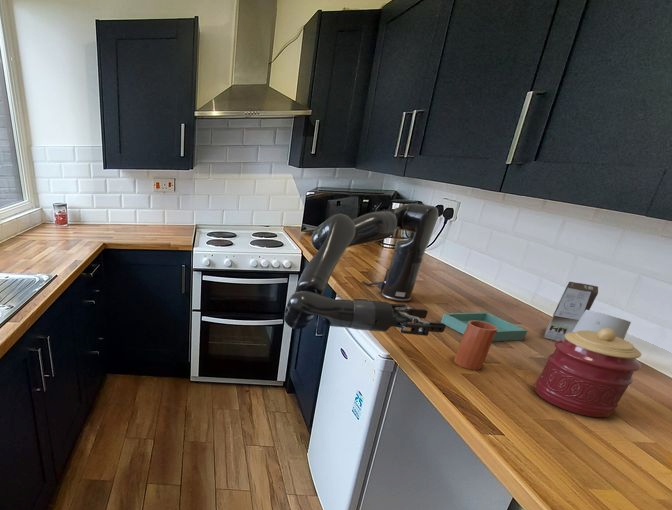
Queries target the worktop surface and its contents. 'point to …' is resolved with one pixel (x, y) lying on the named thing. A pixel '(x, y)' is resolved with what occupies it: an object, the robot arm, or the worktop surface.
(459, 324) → the tray
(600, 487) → the worktop surface
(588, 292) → the coffee box
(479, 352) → the tumbler
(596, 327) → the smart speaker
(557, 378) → the kitchen canister
